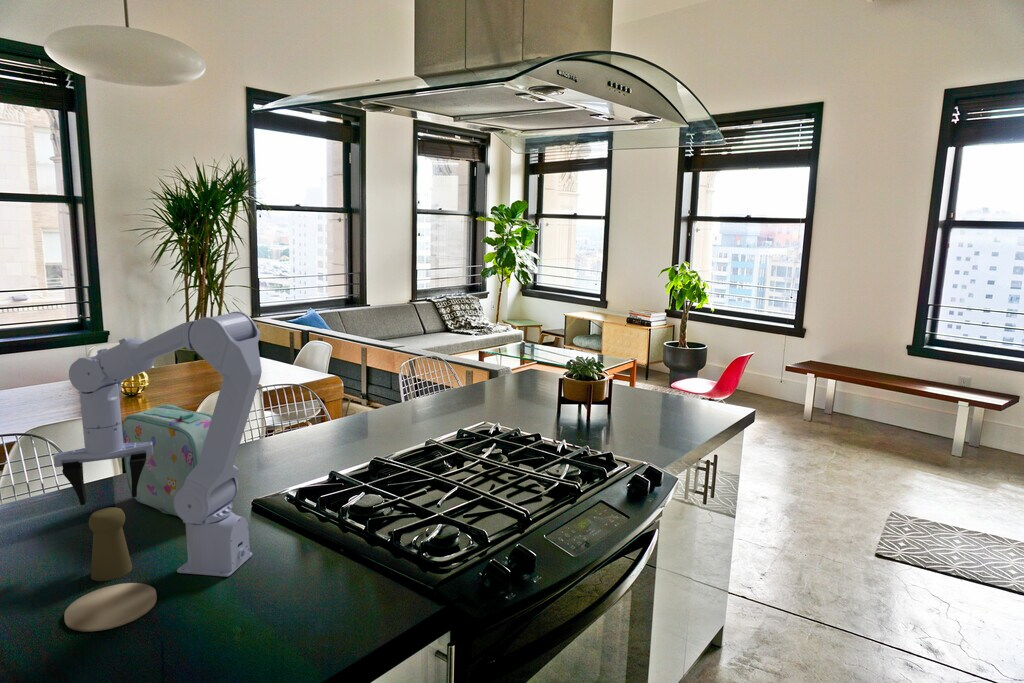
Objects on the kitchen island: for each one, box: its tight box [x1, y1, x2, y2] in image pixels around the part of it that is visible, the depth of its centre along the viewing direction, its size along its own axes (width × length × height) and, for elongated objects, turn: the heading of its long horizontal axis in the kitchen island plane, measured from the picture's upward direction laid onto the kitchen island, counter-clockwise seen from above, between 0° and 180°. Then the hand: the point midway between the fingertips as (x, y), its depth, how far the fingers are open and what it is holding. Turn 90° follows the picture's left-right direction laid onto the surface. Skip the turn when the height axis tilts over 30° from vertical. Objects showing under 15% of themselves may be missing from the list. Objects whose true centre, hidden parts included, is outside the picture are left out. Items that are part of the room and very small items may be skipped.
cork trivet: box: [63, 582, 158, 632], centre depth 100 cm, size 12×12×1 cm
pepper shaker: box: [88, 506, 133, 582], centre depth 110 cm, size 6×6×11 cm
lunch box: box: [122, 404, 234, 518], centre depth 137 cm, size 27×10×21 cm, turn 61°
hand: (109, 499), depth 116 cm, fingers open, 7 cm apart
